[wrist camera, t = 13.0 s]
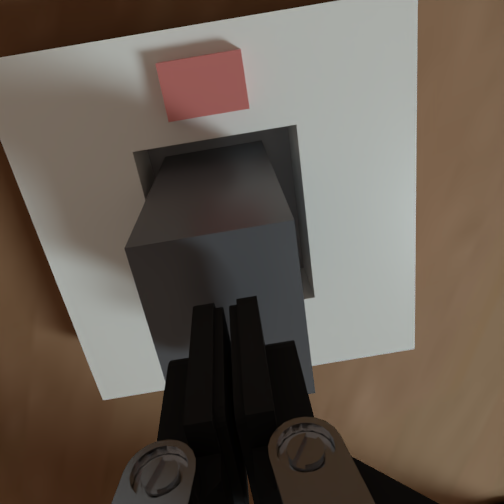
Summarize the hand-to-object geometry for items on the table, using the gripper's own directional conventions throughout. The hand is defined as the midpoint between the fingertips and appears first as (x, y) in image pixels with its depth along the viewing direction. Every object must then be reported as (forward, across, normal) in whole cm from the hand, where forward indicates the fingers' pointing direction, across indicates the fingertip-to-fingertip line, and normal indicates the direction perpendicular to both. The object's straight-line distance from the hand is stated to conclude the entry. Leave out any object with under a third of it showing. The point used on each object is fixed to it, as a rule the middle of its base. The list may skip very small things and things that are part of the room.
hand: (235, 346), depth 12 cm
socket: (+12, 0, 0) cm, 12 cm away
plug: (+11, 0, +2) cm, 11 cm away
